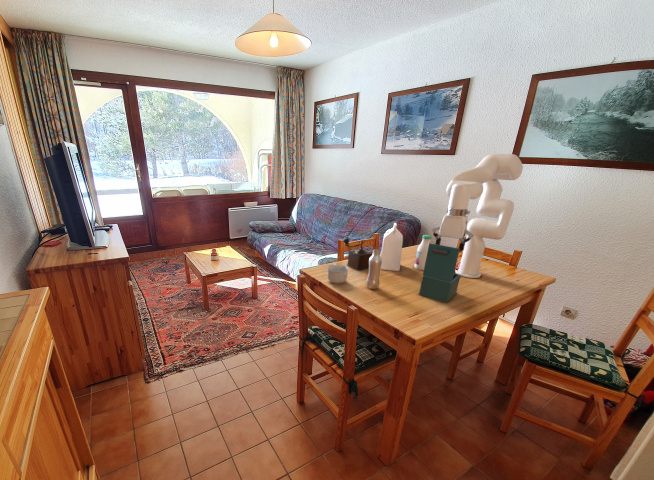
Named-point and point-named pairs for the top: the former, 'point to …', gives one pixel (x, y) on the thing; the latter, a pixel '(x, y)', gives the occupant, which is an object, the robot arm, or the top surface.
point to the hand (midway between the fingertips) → (448, 249)
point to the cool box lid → (441, 262)
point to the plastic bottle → (374, 269)
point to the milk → (392, 249)
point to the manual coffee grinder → (358, 256)
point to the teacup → (337, 273)
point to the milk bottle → (422, 252)
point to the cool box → (439, 288)
